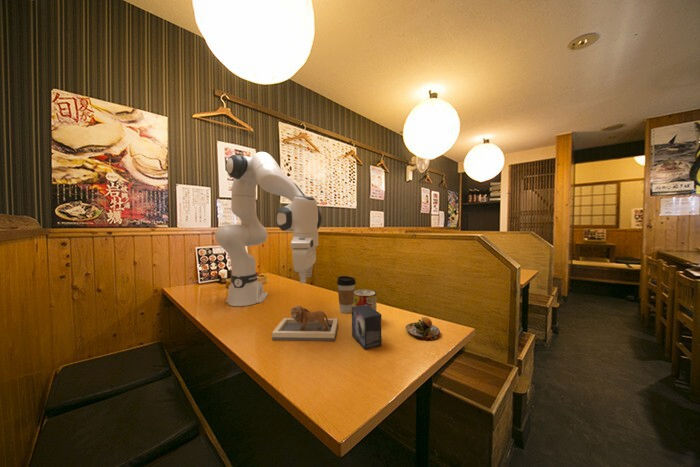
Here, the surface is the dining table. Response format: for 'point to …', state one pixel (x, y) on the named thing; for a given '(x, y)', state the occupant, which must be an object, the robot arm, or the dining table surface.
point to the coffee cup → (346, 293)
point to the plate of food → (424, 329)
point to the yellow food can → (365, 298)
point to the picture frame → (292, 330)
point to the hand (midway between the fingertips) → (306, 279)
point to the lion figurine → (308, 317)
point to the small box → (366, 326)
